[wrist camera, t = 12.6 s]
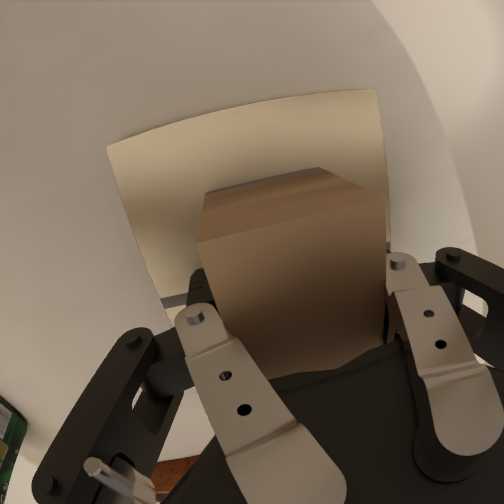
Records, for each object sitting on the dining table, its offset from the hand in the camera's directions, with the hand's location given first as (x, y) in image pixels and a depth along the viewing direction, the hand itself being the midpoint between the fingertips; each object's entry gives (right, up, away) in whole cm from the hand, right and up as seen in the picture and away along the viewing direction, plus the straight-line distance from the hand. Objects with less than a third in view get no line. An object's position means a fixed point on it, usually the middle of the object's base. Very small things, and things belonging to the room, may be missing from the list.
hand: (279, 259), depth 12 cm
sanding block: (0, 0, 0) cm, 0 cm away
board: (+1, -3, +4) cm, 5 cm away
